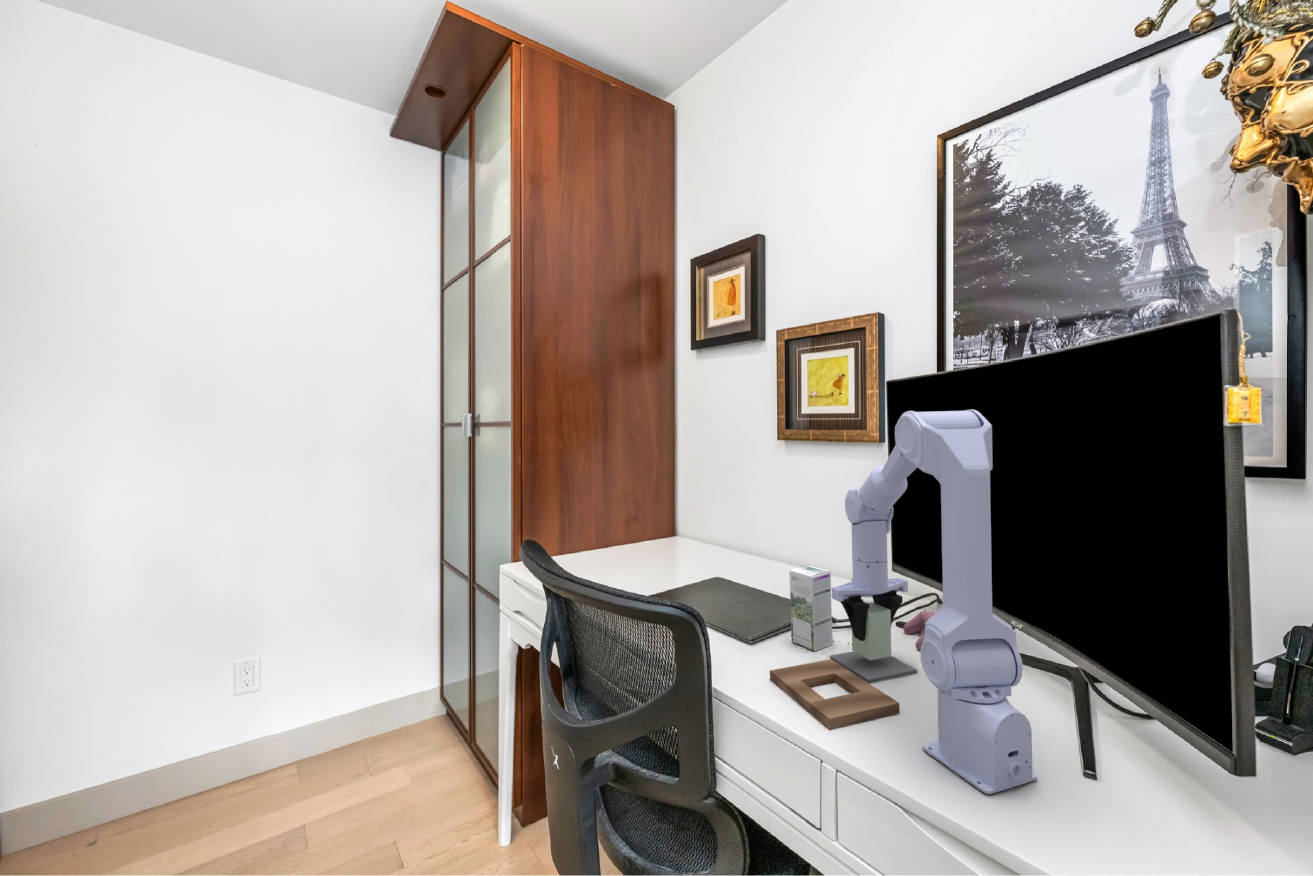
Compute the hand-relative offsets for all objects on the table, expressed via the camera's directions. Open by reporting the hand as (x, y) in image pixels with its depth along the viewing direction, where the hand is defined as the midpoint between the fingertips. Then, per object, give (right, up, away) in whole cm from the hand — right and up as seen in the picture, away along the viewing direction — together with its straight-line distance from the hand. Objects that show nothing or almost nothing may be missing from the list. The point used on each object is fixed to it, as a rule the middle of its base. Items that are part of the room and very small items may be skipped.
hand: (871, 636), depth 93 cm
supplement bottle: (+6, -5, +15) cm, 17 cm away
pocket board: (-10, -6, -10) cm, 15 cm away
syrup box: (-7, -5, +10) cm, 14 cm away
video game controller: (+14, -5, +10) cm, 18 cm away
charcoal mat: (0, -5, 0) cm, 5 cm away
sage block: (0, -3, 0) cm, 3 cm away
